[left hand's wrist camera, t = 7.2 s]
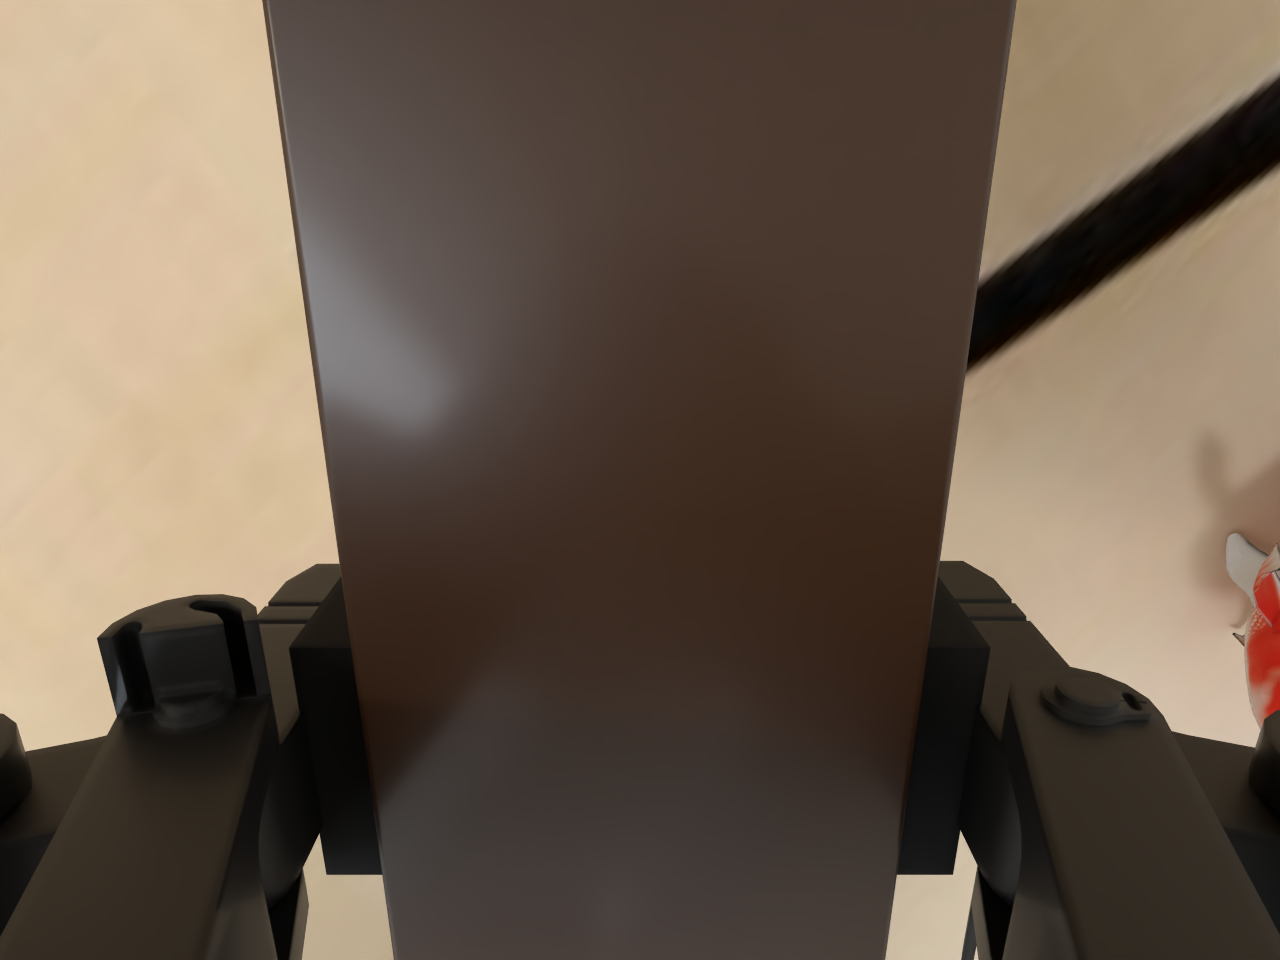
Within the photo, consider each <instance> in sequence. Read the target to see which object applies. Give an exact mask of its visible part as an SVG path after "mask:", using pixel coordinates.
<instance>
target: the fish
mask: <svg viewBox="0 0 1280 960" xmlns="http://www.w3.org/2000/svg"><path fill="white" fill-rule="evenodd" d="M1226 567H1227V571H1228V574H1229V576H1230V577H1231V579H1232V581H1233V582H1234V583H1235V584H1236V585H1237V586H1238V587H1239V588H1241V589H1242V590H1243V591H1244V592H1245V593H1246V594H1247V596H1248V597H1249V598H1250V601H1251V603H1252V605H1253V607H1254V610H1253V612H1252V613H1251V616H1250V618H1249V620H1248V622H1247V626H1246V631H1245V635H1243V636H1241V635H1238V634H1236V633H1233V635H1234V636H1235V637H1236V638H1237V639H1238V640H1239V641H1240V643H1241V644H1242V645H1243V646H1244V657H1245V670H1246V680H1247V687H1248V694H1249V700H1250V704H1251V708H1252V711H1253V715H1254V717H1255V719H1256V721H1257V723H1258V725H1259V727H1260V729H1261V728H1262V725H1263V721H1264V719H1265V718H1267V717H1268V716H1269V715H1271V714H1272V713H1273V712H1275V711H1276V710H1280V552H1279V549H1278V543H1277V544H1276V546H1275V548H1274V549H1273V551H1272V553H1271V554H1270V555H1267V554H1266V553H1264V552H1262V551H1260V550H1259V549H1257V548H1256V547H1255V546H1253V545H1252V544H1251V543H1250V542H1248V541H1247V540H1246V539H1245V538H1244V537H1243V536H1242V535H1240V534H1238V533H1233V534H1231V535H1229V536H1228V538H1227V543H1226Z"/></svg>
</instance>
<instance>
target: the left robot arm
mask: <svg viewBox="0 0 1280 960" xmlns="http://www.w3.org/2000/svg"><path fill="white" fill-rule="evenodd" d="M268 604H269V605H268V606H265V607H264V608H263V609H262V610H261V612H260V613H259V614H258V615H257V610H256V607H255V606H254V605H252V604H251V603H249V602H248V601H247V600H245V599H244V598H239V597H234V596H229V595H224V594H215V595H193V596H188V597H182V598H177V599H171V600H166V601H163V602H160V603H157V604H154V605H151V606H148V607H145V608H142V609H139V610H136V611H135V612H133V613H131V614H129V615H127V616H125V617H124V618H122V619H120V620H118V621H116V622H114V623H112V624H111V625H110V626H109V627H108V628H107V629H106V630H105V631H104V632H103V633H102V634H101V635H100V636H99V637H98V638H97V640H98V644H99V648H100V652H101V656H102V660H103V664H104V668H105V671H106V675H107V679H108V683H109V687H110V691H111V695H112V699H113V703H114V706H115V710H116V714H117V718H116V720H115V721H114V723H113V725H112V727H111V729H110V731H109V733H108V735H107V736H103V737H99V738H94V739H90V740H84V741H79V742H74V743H69V744H63V745H58V746H53V747H48V748H42V749H37V750H32V751H26V752H25V750H24V747H23V744H22V740H21V737H20V734H19V731H18V727H17V724H16V723H15V722H14V721H12V720H11V719H10V718H8V717H7V716H6V715H4V714H0V960H302V953H303V945H304V938H305V930H306V923H307V915H308V908H309V903H308V896H307V889H306V883H305V878H304V872H303V866H304V864H305V862H306V860H307V858H308V856H309V854H310V852H311V850H312V847H313V845H314V843H315V841H316V839H317V837H318V835H319V833H320V838H321V844H322V850H323V856H324V862H325V868H326V874H327V875H382V868H381V860H380V853H379V846H378V839H377V831H376V824H375V817H374V810H373V802H372V795H371V788H370V780H369V773H368V766H367V759H366V751H365V744H364V737H363V730H362V722H361V715H360V708H359V700H358V693H357V686H356V679H355V671H354V664H353V657H352V649H351V642H350V635H349V628H348V620H347V613H346V606H345V599H344V591H343V584H342V577H341V569H340V564H316V565H314V566H312V567H311V568H309V569H307V570H305V571H304V572H302V573H300V574H299V575H297V576H295V577H293V578H292V579H290V580H288V581H286V582H285V584H284V585H283V586H282V587H281V588H280V589H279V591H278V592H277V593H276V594H275V595H274V596H273V598H272V599H271V600H270V601H269V602H268ZM960 830H961V832H962V834H963V836H964V838H965V840H966V842H967V844H968V846H969V848H970V850H971V853H972V855H973V857H974V859H975V861H976V863H977V865H978V866H977V872H976V878H975V883H974V889H973V894H972V900H971V905H970V911H969V917H968V922H967V928H966V933H965V939H964V945H963V952H962V959H961V960H974V955H975V950H976V946H977V951H978V958H979V960H1280V710H1276V711H1275V712H1273V713H1272V714H1271V715H1269V716H1268V717H1267V718H1265V719H1264V721H1263V725H1262V728H1261V731H1260V734H1259V738H1258V741H1257V744H1256V747H1255V748H1253V747H1248V746H1243V745H1237V744H1232V743H1227V742H1221V741H1216V740H1211V739H1205V738H1200V737H1195V736H1189V735H1185V734H1181V733H1177V732H1173V731H1171V729H1170V728H1169V726H1168V724H1167V722H1166V720H1165V718H1164V716H1163V715H1162V714H1161V712H1160V711H1159V710H1158V709H1157V708H1156V707H1155V706H1154V704H1153V703H1152V702H1151V701H1150V700H1149V699H1148V698H1147V697H1145V696H1143V695H1142V694H1140V693H1139V692H1137V691H1136V690H1134V689H1133V688H1131V687H1129V686H1128V685H1126V684H1124V683H1122V682H1119V681H1117V680H1114V679H1112V678H1109V677H1107V676H1104V675H1102V674H1099V673H1095V672H1091V671H1086V670H1082V669H1077V668H1073V667H1070V666H1069V665H1068V664H1067V663H1066V662H1065V661H1064V660H1063V658H1062V657H1061V656H1060V655H1059V654H1058V653H1057V651H1056V650H1055V649H1054V648H1053V647H1052V646H1051V644H1050V643H1049V642H1048V641H1047V640H1046V639H1045V638H1044V636H1043V635H1042V634H1041V633H1040V632H1039V631H1038V629H1037V628H1036V627H1035V626H1034V625H1033V624H1032V622H1031V621H1027V620H1026V616H1025V614H1024V613H1023V612H1022V611H1021V610H1020V609H1019V607H1018V606H1017V605H1016V604H1015V603H1012V602H1011V598H1010V597H1009V596H1008V595H1007V594H1006V592H1005V591H1004V590H1003V589H1002V588H1001V587H1000V585H999V584H998V583H997V582H996V581H995V580H994V579H993V578H992V577H990V576H988V575H986V574H985V573H983V572H981V571H979V570H978V569H976V568H974V567H972V566H971V565H969V564H967V563H965V562H964V561H940V563H939V570H938V577H937V585H936V592H935V599H934V607H933V614H932V621H931V629H930V636H929V643H928V650H927V658H926V665H925V672H924V680H923V687H922V694H921V701H920V709H919V716H918V723H917V731H916V738H915V745H914V753H913V760H912V767H911V774H910V782H909V789H908V796H907V804H906V811H905V818H904V826H903V833H902V840H901V847H900V855H899V862H898V869H897V875H953V871H954V865H955V859H956V853H957V847H958V841H959V835H960Z"/></svg>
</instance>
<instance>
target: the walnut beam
mask: <svg viewBox="0 0 1280 960" xmlns="http://www.w3.org/2000/svg"><path fill="white" fill-rule="evenodd" d="M1016 1H1017V0H262V2H263V9H264V16H265V24H266V31H267V38H268V46H269V53H270V60H271V67H272V75H273V82H274V89H275V96H276V104H277V111H278V118H279V126H280V133H281V140H282V147H283V155H284V162H285V169H286V176H287V184H288V191H289V198H290V206H291V213H292V220H293V227H294V235H295V242H296V249H297V257H298V264H299V271H300V278H301V286H302V293H303V300H304V307H305V315H306V322H307V329H308V337H309V344H310V351H311V358H312V366H313V373H314V380H315V388H316V395H317V402H318V409H319V417H320V424H321V431H322V438H323V446H324V453H325V460H326V468H327V475H328V482H329V489H330V497H331V504H332V511H333V518H334V526H335V533H336V540H337V548H338V555H339V562H340V569H341V577H342V584H343V591H344V599H345V606H346V613H347V620H348V628H349V635H350V642H351V649H352V657H353V664H354V671H355V679H356V686H357V693H358V700H359V708H360V715H361V722H362V730H363V737H364V744H365V751H366V759H367V766H368V773H369V780H370V788H371V795H372V802H373V810H374V817H375V824H376V831H377V839H378V846H379V853H380V860H381V868H382V875H383V882H384V890H385V897H386V904H387V911H388V919H389V926H390V933H391V941H392V948H393V955H394V960H885V957H886V950H887V942H888V935H889V928H890V920H891V913H892V906H893V899H894V891H895V884H896V877H897V869H898V862H899V855H900V847H901V840H902V833H903V826H904V818H905V811H906V804H907V796H908V789H909V782H910V774H911V767H912V760H913V753H914V745H915V738H916V731H917V723H918V716H919V709H920V701H921V694H922V687H923V680H924V672H925V665H926V658H927V650H928V643H929V636H930V629H931V621H932V614H933V607H934V599H935V592H936V585H937V577H938V570H939V563H940V556H941V548H942V541H943V534H944V526H945V519H946V512H947V504H948V497H949V490H950V483H951V475H952V468H953V461H954V453H955V446H956V439H957V432H958V424H959V417H960V410H961V402H962V395H963V388H964V380H965V373H966V366H967V359H968V351H969V344H970V337H971V329H972V322H973V315H974V307H975V300H976V293H977V286H978V278H979V271H980V264H981V256H982V249H983V242H984V234H985V227H986V220H987V213H988V205H989V198H990V191H991V183H992V176H993V169H994V162H995V154H996V147H997V140H998V132H999V125H1000V118H1001V110H1002V103H1003V96H1004V89H1005V81H1006V74H1007V67H1008V59H1009V52H1010V45H1011V37H1012V30H1013V23H1014V16H1015V8H1016Z"/></svg>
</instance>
